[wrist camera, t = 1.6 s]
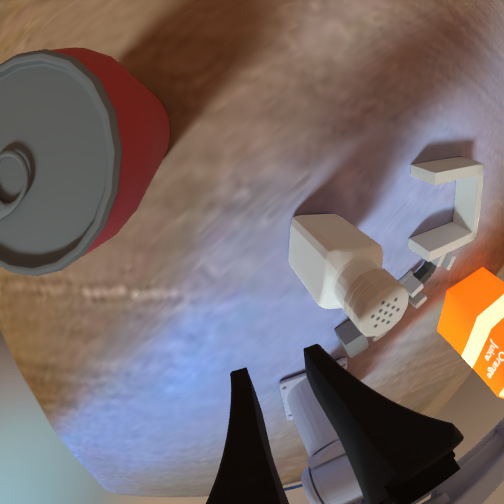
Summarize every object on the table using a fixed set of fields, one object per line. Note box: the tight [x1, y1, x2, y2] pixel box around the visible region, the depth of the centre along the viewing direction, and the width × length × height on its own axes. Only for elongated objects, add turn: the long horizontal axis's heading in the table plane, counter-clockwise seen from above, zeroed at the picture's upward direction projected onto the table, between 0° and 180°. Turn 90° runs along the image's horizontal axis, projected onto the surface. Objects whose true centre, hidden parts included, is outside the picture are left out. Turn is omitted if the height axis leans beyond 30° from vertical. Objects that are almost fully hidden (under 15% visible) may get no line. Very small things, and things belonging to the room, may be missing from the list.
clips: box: [370, 252, 456, 342], centre depth 25 cm, size 4×13×2 cm, turn 132°
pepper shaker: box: [288, 214, 409, 337], centre depth 17 cm, size 4×4×10 cm
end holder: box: [408, 157, 484, 262], centre depth 21 cm, size 8×8×3 cm
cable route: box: [334, 261, 437, 358], centre depth 25 cm, size 3×16×2 cm, turn 129°
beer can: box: [0, 48, 171, 276], centre depth 10 cm, size 7×7×12 cm
